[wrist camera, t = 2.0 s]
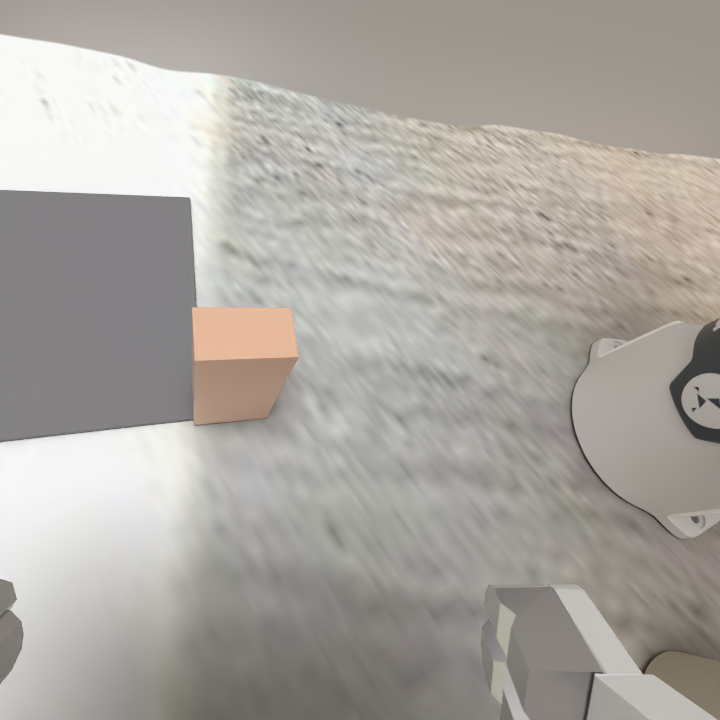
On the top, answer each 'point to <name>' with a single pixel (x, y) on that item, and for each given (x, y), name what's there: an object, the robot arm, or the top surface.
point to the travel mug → (690, 678)
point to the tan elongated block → (240, 361)
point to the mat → (94, 312)
